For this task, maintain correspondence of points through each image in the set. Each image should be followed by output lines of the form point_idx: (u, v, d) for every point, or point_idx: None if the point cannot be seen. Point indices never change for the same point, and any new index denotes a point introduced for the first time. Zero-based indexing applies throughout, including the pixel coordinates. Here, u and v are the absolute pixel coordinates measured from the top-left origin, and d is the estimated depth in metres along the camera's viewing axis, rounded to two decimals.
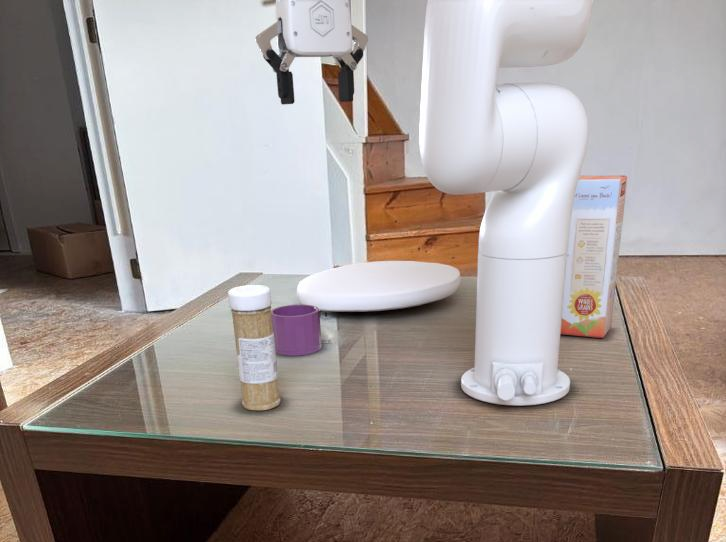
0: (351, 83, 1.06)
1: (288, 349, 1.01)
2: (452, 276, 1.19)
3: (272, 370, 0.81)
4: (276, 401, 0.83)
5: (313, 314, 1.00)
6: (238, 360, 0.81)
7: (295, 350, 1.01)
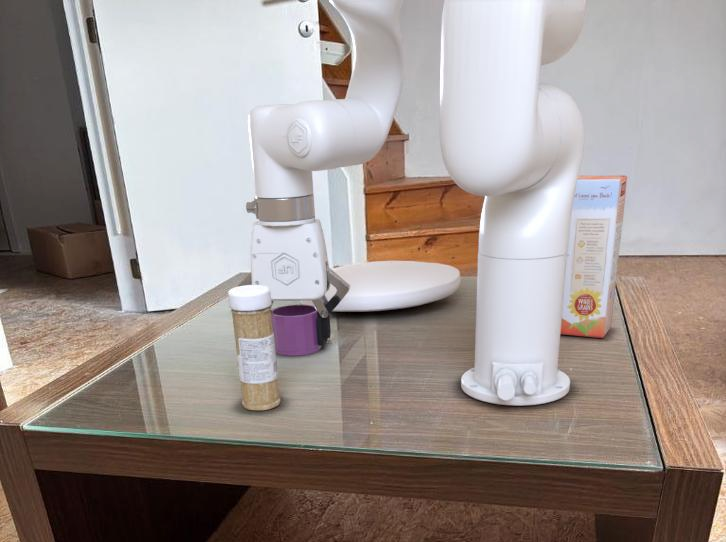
0: (320, 330, 1.00)
1: (288, 349, 1.01)
2: (452, 276, 1.19)
3: (272, 370, 0.81)
4: (276, 401, 0.83)
5: (313, 314, 1.00)
6: (238, 360, 0.81)
7: (295, 350, 1.01)
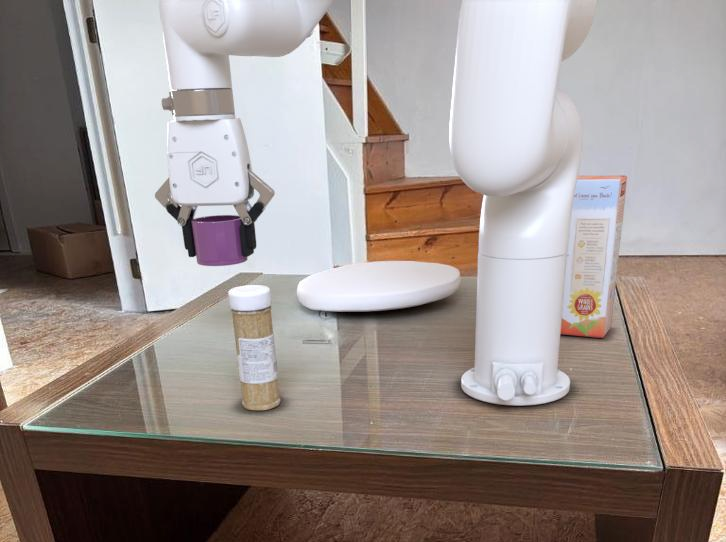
0: (243, 239, 0.95)
1: (210, 259, 0.96)
2: (452, 276, 1.19)
3: (272, 370, 0.81)
4: (276, 401, 0.83)
5: (235, 221, 0.95)
6: (238, 360, 0.81)
7: (217, 260, 0.96)
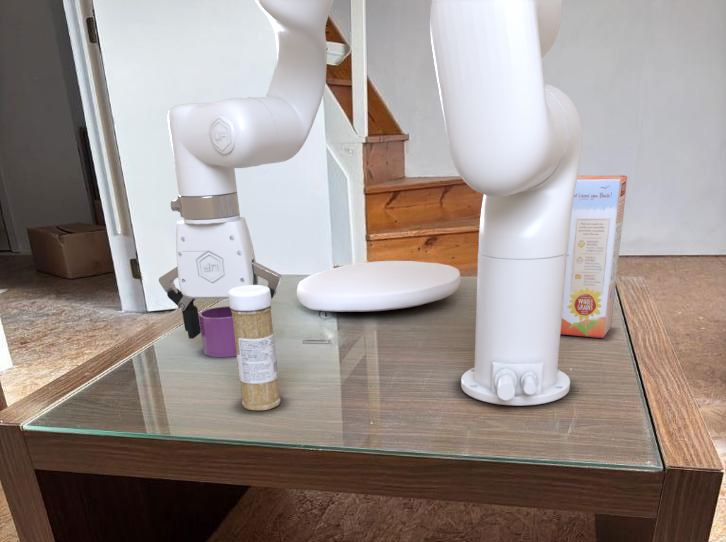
0: None
1: (216, 351, 1.01)
2: (452, 276, 1.19)
3: (272, 370, 0.81)
4: (276, 401, 0.83)
5: None
6: (238, 360, 0.81)
7: (223, 352, 1.01)
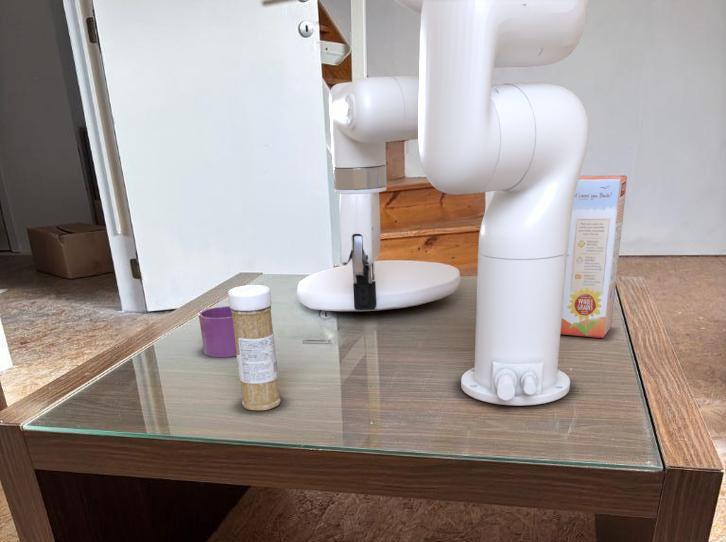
0: None
1: (216, 351, 1.01)
2: (452, 275, 1.20)
3: (272, 370, 0.81)
4: (276, 401, 0.83)
5: None
6: (238, 360, 0.81)
7: (223, 352, 1.01)
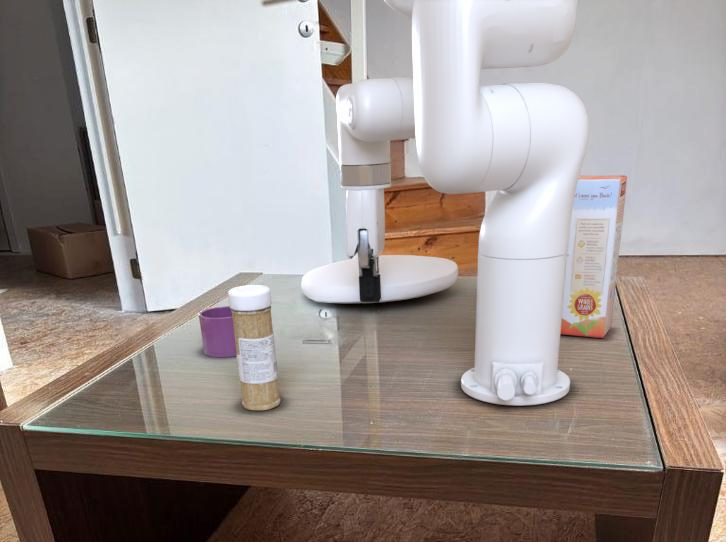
0: (359, 287, 1.16)
1: (216, 351, 1.01)
2: (451, 268, 1.25)
3: (272, 370, 0.81)
4: (276, 401, 0.83)
5: None
6: (238, 360, 0.81)
7: (223, 352, 1.01)
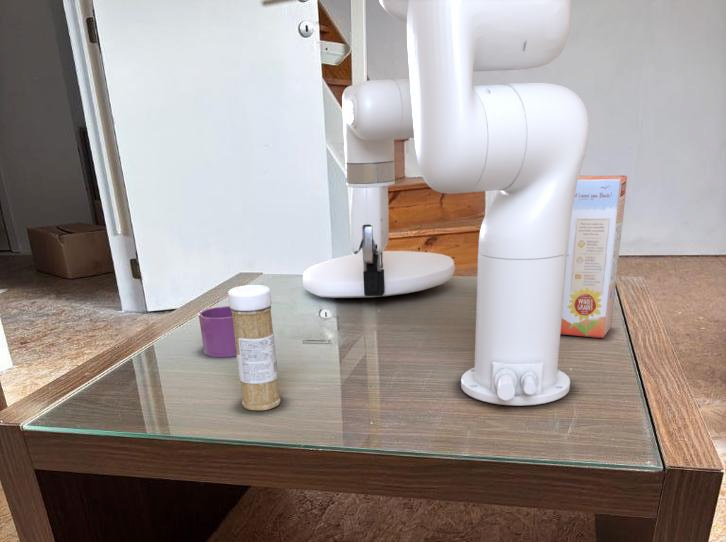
0: None
1: (216, 351, 1.01)
2: (449, 263, 1.29)
3: (272, 370, 0.81)
4: (276, 401, 0.83)
5: None
6: (238, 360, 0.81)
7: (223, 352, 1.01)
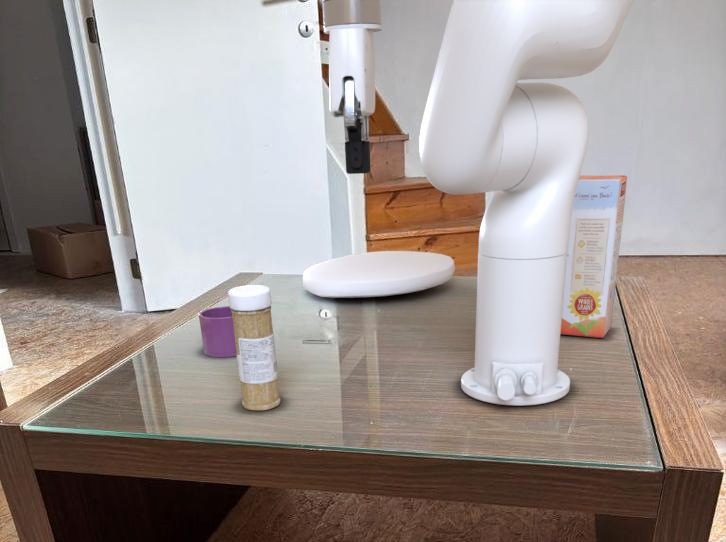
0: (345, 155, 1.01)
1: (216, 351, 1.01)
2: (449, 263, 1.29)
3: (272, 370, 0.81)
4: (276, 401, 0.83)
5: None
6: (238, 360, 0.81)
7: (223, 352, 1.01)
